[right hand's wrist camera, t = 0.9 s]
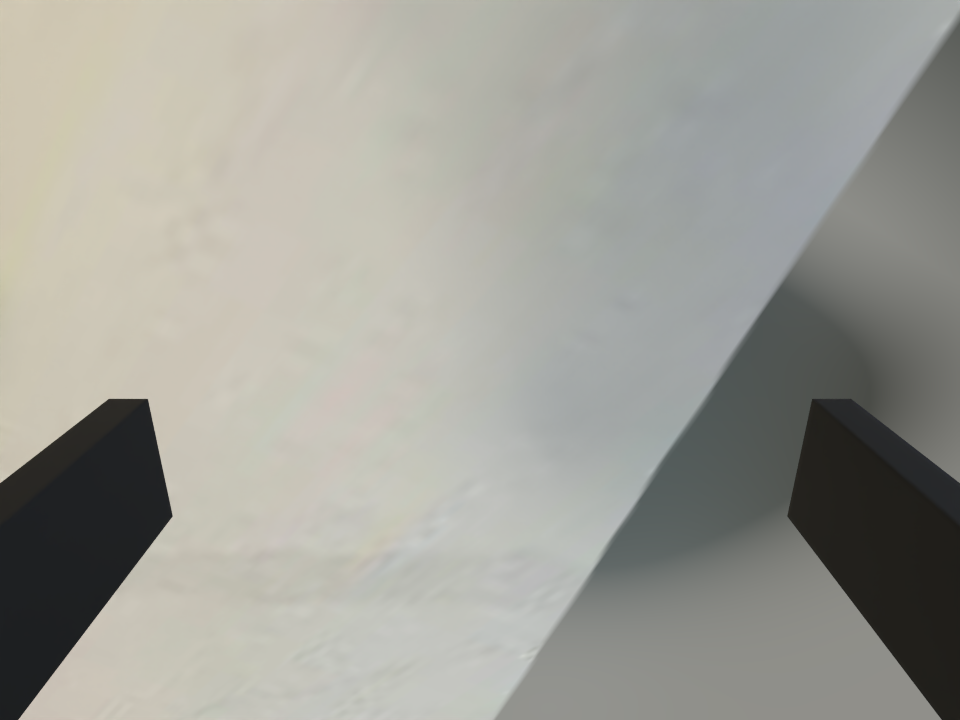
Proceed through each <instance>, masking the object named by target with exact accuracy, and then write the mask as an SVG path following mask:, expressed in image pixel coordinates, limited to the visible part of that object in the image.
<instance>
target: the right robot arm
mask: <svg viewBox="0 0 960 720" xmlns="http://www.w3.org/2000/svg"><path fill="white" fill-rule="evenodd" d="M171 518H172V511H171V506H170V502H169V497H168V492H167V488H166V483H165V478H164V473H163V469H162V464H161V459H160V455H159V450H158V445H157V440H156V436H155V431H154V426H153V422H152V417H151V412H150V407H149V403H148V399H108V400H107V401H106V402H104V403H103V404H102V405H101V406H99V407H98V408H97V409H95V410H94V411H93V412H92V413H90V414H89V415H88V416H86V417H85V418H84V419H83V420H81V421H80V422H79V423H77V424H76V425H75V426H74V427H72V428H71V429H70V430H68V431H67V432H66V433H65V434H63V435H62V436H61V437H59V438H58V439H57V440H55V441H54V442H53V443H52V444H50V445H49V446H48V447H46V448H45V449H44V450H43V451H41V452H40V453H39V454H37V455H36V456H35V457H34V458H32V459H31V460H30V461H28V462H27V463H26V464H25V465H23V466H22V467H21V468H19V469H18V470H17V471H16V472H14V473H13V474H12V475H10V476H9V477H8V478H6V479H5V480H4V481H3V482H1V483H0V720H18V719H19V718H20V717H21V715H22V714H23V713H24V711H25V710H26V709H27V707H28V706H29V705H30V703H31V702H32V701H33V700H34V698H35V697H36V696H37V694H38V693H39V692H40V690H41V689H42V688H43V686H44V685H45V684H46V682H47V681H48V680H49V678H50V677H51V676H52V675H53V673H54V672H55V671H56V669H57V668H58V667H59V665H60V664H61V663H62V661H63V660H64V659H65V657H66V656H67V655H68V653H69V652H70V651H71V649H72V648H73V647H74V646H75V644H76V643H77V642H78V640H79V639H80V638H81V636H82V635H83V634H84V632H85V631H86V630H87V628H88V627H89V626H90V624H91V623H92V622H93V620H94V619H95V618H96V617H97V615H98V614H99V613H100V611H101V610H102V609H103V607H104V606H105V605H106V603H107V602H108V601H109V599H110V598H111V597H112V595H113V594H114V593H115V592H116V590H117V589H118V588H119V586H120V585H121V584H122V582H123V581H124V580H125V578H126V577H127V576H128V574H129V573H130V572H131V570H132V569H133V568H134V566H135V565H136V564H137V563H138V561H139V560H140V559H141V557H142V556H143V555H144V553H145V552H146V551H147V549H148V548H149V547H150V545H151V544H152V543H153V541H154V540H155V539H156V537H157V536H158V535H159V534H160V532H161V531H162V530H163V528H164V527H165V526H166V524H167V523H168V522H169V520H170V519H171ZM788 518H789V519H790V520H791V522H792V523H793V524H794V526H795V527H796V528H797V530H798V531H799V532H800V533H801V535H802V536H803V537H804V539H805V540H806V541H807V543H808V544H809V545H810V547H811V548H812V549H813V551H814V552H815V553H816V555H817V556H818V557H819V559H820V560H821V561H822V562H823V564H824V565H825V566H826V568H827V569H828V570H829V572H830V573H831V574H832V576H833V577H834V578H835V580H836V581H837V582H838V584H839V585H840V586H841V588H842V589H843V590H844V591H845V593H846V594H847V595H848V597H849V598H850V599H851V601H852V602H853V603H854V605H855V606H856V607H857V609H858V610H859V611H860V613H861V614H862V615H863V617H864V618H865V619H866V620H867V622H868V623H869V624H870V626H871V627H872V628H873V630H874V631H875V632H876V634H877V635H878V636H879V638H880V639H881V640H882V642H883V643H884V644H885V646H886V647H887V648H888V649H889V651H890V652H891V653H892V655H893V656H894V657H895V659H896V660H897V661H898V663H899V664H900V665H901V667H902V668H903V669H904V671H905V672H906V673H907V674H908V676H909V677H910V678H911V680H912V681H913V682H914V684H915V685H916V686H917V688H918V689H919V690H920V692H921V693H922V694H923V696H924V697H925V698H926V700H927V701H928V702H929V703H930V705H931V706H932V707H933V709H934V710H935V711H936V713H937V714H938V715H939V717H940V718H941V719H942V720H960V483H959V482H957V481H956V480H955V479H954V478H952V477H951V476H950V475H948V474H947V473H946V472H944V471H943V470H942V469H941V468H939V467H938V466H937V465H935V464H934V463H933V462H932V461H930V460H929V459H928V458H926V457H925V456H924V455H923V454H921V453H920V452H919V451H917V450H916V449H915V448H914V447H912V446H911V445H910V444H908V443H907V442H906V441H905V440H903V439H902V438H901V437H899V436H898V435H897V434H895V433H894V432H893V431H891V430H890V429H889V428H888V427H886V426H885V425H884V424H883V423H881V422H880V421H879V420H877V419H876V418H875V417H873V416H872V415H871V414H870V413H868V412H867V411H866V410H865V409H863V408H862V407H861V406H859V405H858V404H857V403H856V402H854V401H853V400H852V399H812V403H811V407H810V412H809V417H808V422H807V426H806V431H805V436H804V441H803V445H802V450H801V455H800V459H799V464H798V469H797V473H796V478H795V483H794V488H793V492H792V497H791V502H790V506H789V511H788Z"/></svg>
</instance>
